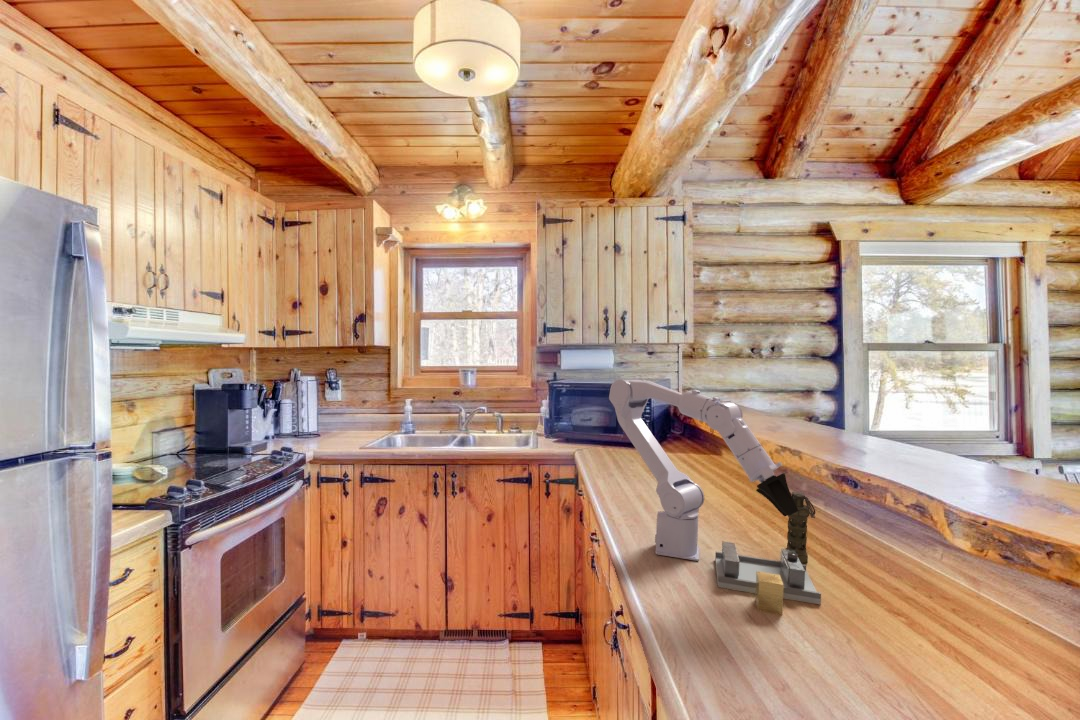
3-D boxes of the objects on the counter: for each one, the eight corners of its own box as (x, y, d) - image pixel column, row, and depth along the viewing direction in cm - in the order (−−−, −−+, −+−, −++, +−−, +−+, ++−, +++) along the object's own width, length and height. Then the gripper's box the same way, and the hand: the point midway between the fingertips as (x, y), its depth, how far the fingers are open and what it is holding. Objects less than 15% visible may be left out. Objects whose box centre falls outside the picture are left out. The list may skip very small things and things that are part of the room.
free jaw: (788, 588, 91) (789, 563, 91) (779, 566, 100) (780, 543, 100) (804, 591, 90) (805, 565, 90) (793, 568, 99) (794, 545, 99)
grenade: (815, 568, 103) (818, 500, 102) (785, 562, 105) (788, 496, 105) (812, 553, 111) (814, 490, 110) (784, 548, 113) (786, 486, 113)
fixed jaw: (724, 579, 94) (725, 560, 94) (721, 559, 104) (722, 541, 104) (739, 582, 93) (739, 562, 93) (735, 561, 103) (735, 543, 103)
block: (757, 610, 85) (759, 580, 85) (755, 599, 89) (756, 571, 89) (782, 615, 84) (783, 584, 84) (778, 604, 88) (779, 574, 88)
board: (718, 587, 93) (718, 577, 93) (715, 559, 106) (715, 551, 106) (820, 604, 88) (821, 594, 88) (805, 573, 100) (805, 564, 100)
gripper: (768, 437, 91) (815, 502, 85) (764, 448, 104) (805, 505, 97) (735, 455, 92) (779, 520, 86) (736, 463, 105) (774, 521, 99)
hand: (791, 513), depth 92 cm, fingers open, 7 cm apart
